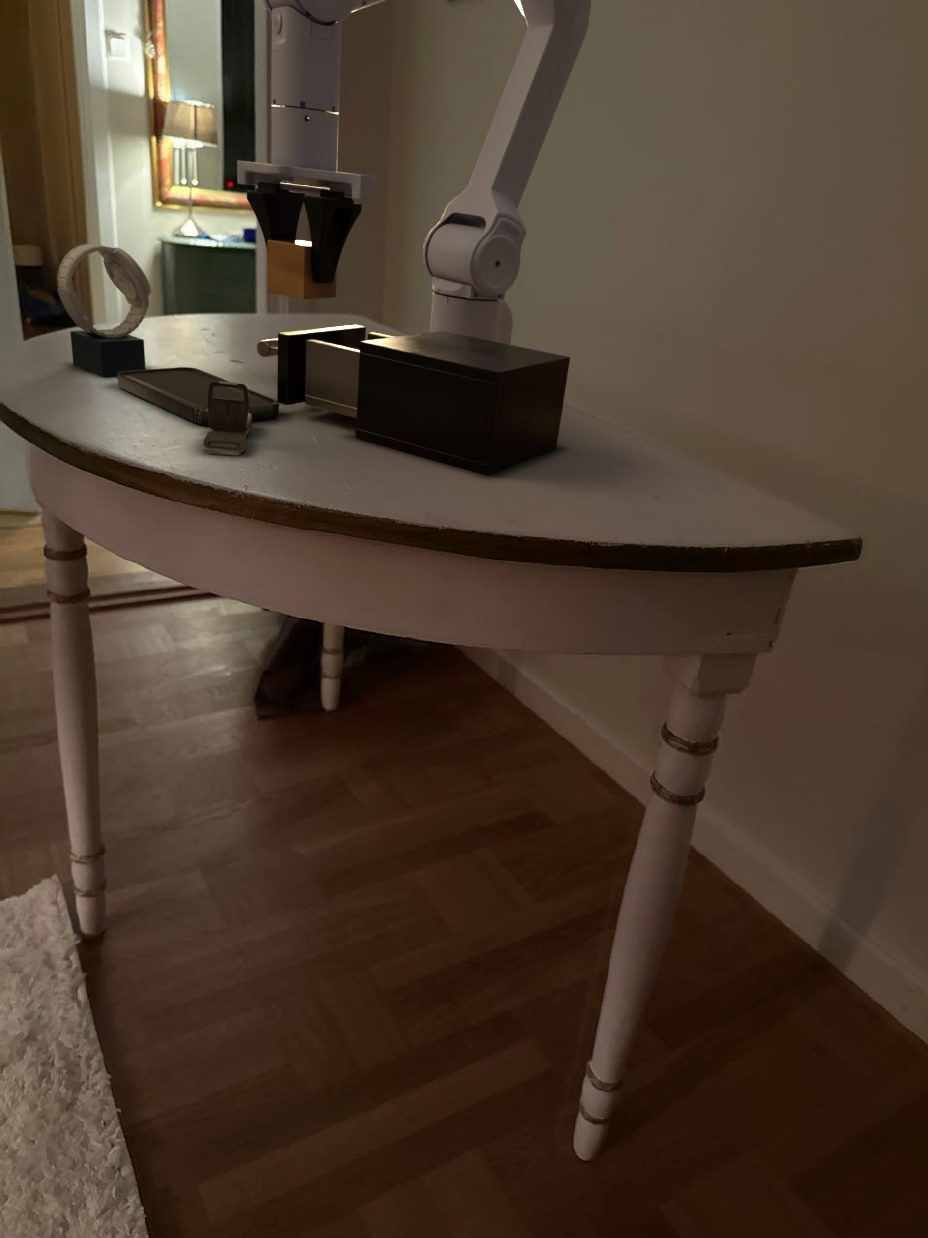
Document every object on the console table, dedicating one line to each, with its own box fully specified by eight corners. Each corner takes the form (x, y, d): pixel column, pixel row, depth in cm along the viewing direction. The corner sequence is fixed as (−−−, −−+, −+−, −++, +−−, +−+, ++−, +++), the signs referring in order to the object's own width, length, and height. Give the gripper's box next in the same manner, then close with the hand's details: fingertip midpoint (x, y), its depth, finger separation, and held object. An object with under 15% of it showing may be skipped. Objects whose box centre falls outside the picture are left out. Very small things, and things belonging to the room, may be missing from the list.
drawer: (238, 392, 77) (237, 323, 75) (316, 378, 85) (318, 316, 83) (384, 432, 70) (388, 358, 68) (454, 413, 78) (460, 346, 76)
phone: (201, 412, 69) (112, 371, 78) (202, 426, 69) (113, 384, 78) (285, 403, 74) (193, 365, 83) (285, 416, 74) (193, 377, 83)
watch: (164, 371, 85) (158, 250, 80) (84, 378, 80) (73, 247, 75) (133, 360, 88) (125, 242, 84) (54, 365, 83) (41, 239, 78)
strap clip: (214, 419, 71) (214, 366, 69) (253, 422, 71) (253, 369, 69) (201, 452, 63) (200, 394, 61) (244, 456, 64) (244, 397, 62)
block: (300, 290, 85) (301, 239, 83) (336, 297, 83) (338, 246, 81) (267, 291, 81) (267, 239, 79) (303, 299, 79) (304, 245, 77)
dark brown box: (355, 437, 71) (359, 341, 68) (434, 416, 80) (442, 330, 77) (487, 475, 66) (499, 372, 62) (556, 448, 75) (570, 356, 71)
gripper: (210, 99, 76) (214, 268, 82) (340, 109, 69) (334, 291, 75) (268, 110, 81) (268, 267, 87) (394, 120, 75) (384, 288, 81)
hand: (302, 278), depth 81 cm, fingers closed on block, 4 cm apart
